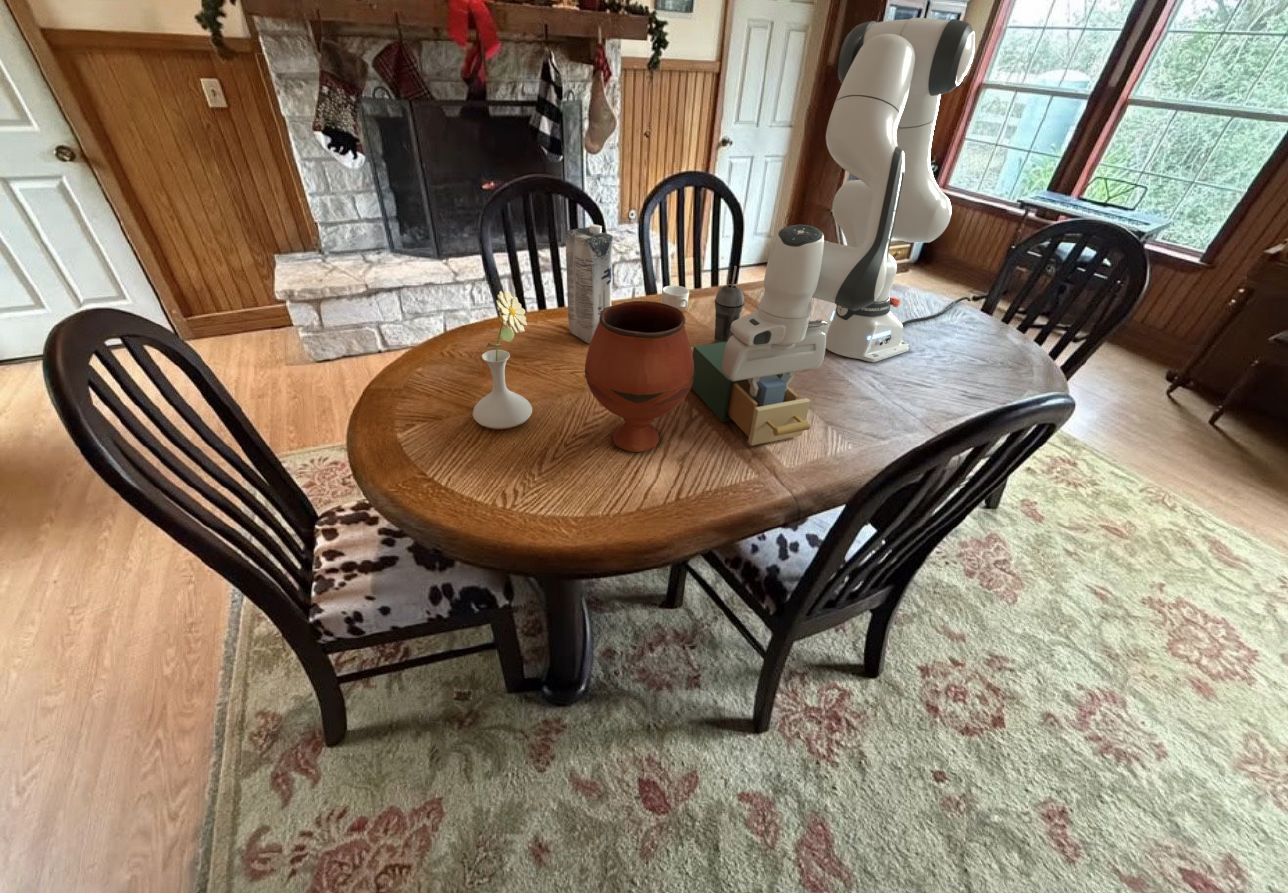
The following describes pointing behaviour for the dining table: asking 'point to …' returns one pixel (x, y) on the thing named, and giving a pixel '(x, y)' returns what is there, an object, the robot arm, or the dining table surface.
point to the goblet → (639, 367)
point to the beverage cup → (727, 310)
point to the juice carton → (588, 278)
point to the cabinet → (713, 378)
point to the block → (770, 390)
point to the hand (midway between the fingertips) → (767, 392)
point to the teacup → (675, 296)
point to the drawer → (767, 415)
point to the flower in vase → (503, 373)
